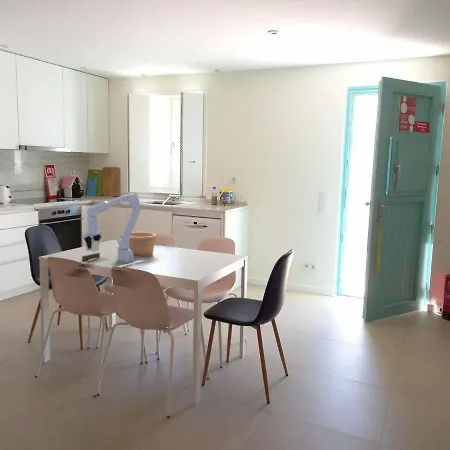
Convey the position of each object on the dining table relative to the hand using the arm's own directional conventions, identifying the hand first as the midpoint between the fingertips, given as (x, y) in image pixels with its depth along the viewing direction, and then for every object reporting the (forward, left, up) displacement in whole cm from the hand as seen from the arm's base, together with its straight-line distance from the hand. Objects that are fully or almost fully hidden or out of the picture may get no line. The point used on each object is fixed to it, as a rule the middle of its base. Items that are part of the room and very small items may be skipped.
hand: (92, 247), depth 281 cm
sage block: (0, 0, -2) cm, 2 cm away
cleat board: (0, -3, -10) cm, 10 cm away
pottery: (-8, -36, -10) cm, 39 cm away
